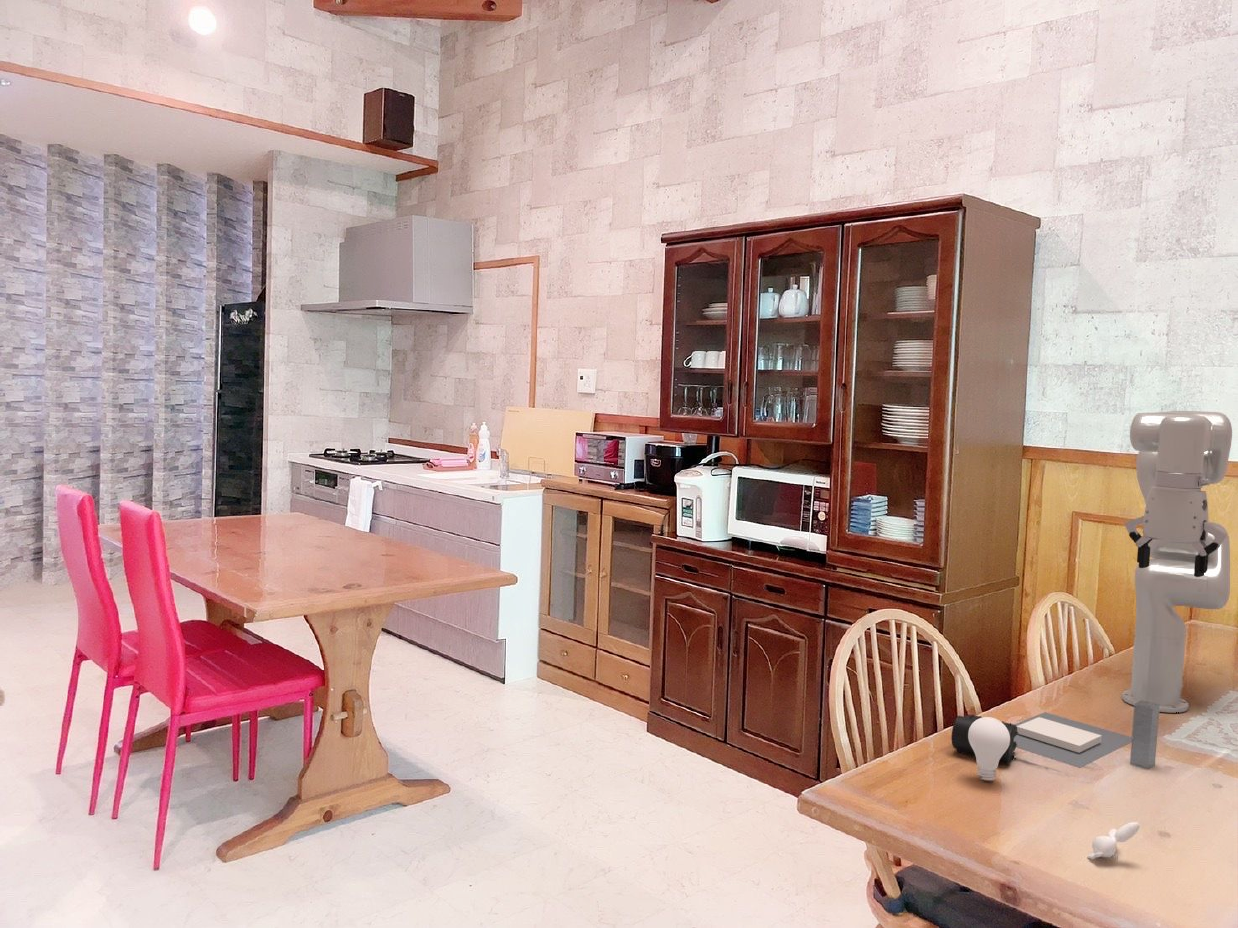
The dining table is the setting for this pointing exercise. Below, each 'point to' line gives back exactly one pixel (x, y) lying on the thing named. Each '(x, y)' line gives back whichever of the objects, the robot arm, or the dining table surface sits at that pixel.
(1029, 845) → the dining table surface
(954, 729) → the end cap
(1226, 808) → the dining table surface
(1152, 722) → the metal bar
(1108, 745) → the mat
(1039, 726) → the tile
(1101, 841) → the rabbit figurine
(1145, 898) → the dining table surface
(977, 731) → the light bulb
